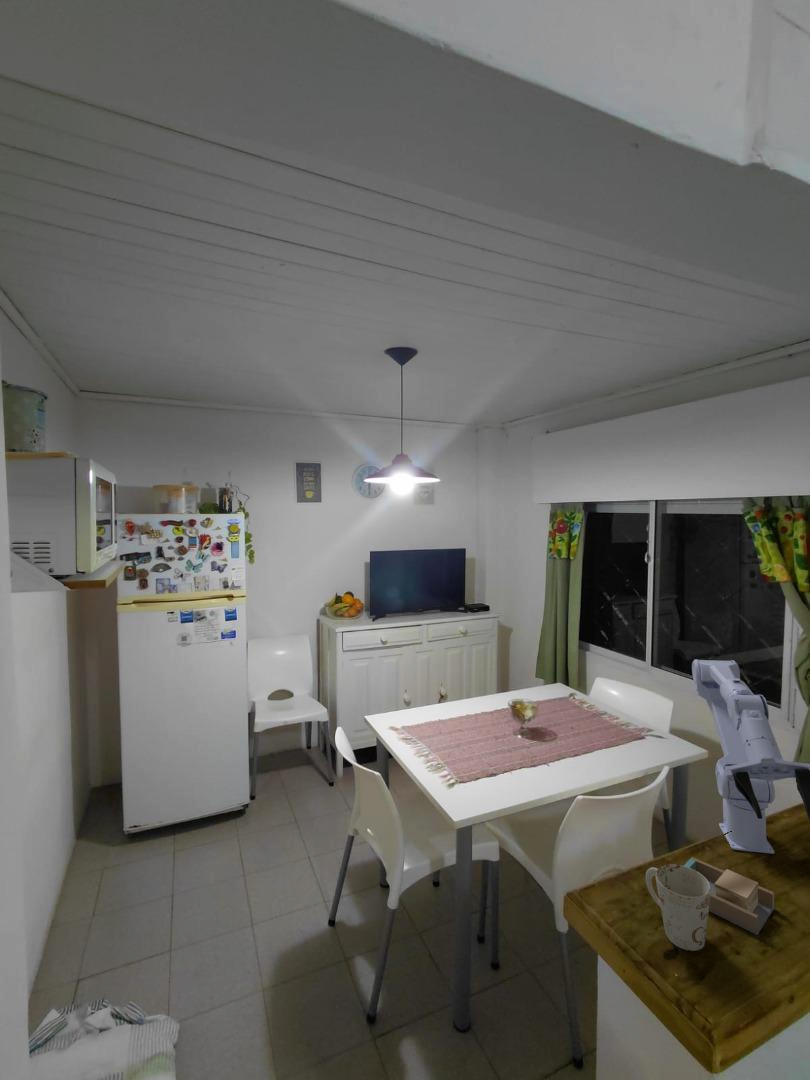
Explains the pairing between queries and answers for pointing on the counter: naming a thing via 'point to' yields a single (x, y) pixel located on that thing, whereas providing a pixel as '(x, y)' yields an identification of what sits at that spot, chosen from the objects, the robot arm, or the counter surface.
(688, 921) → the mug
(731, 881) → the tan wooden block
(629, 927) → the counter surface
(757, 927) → the bay
